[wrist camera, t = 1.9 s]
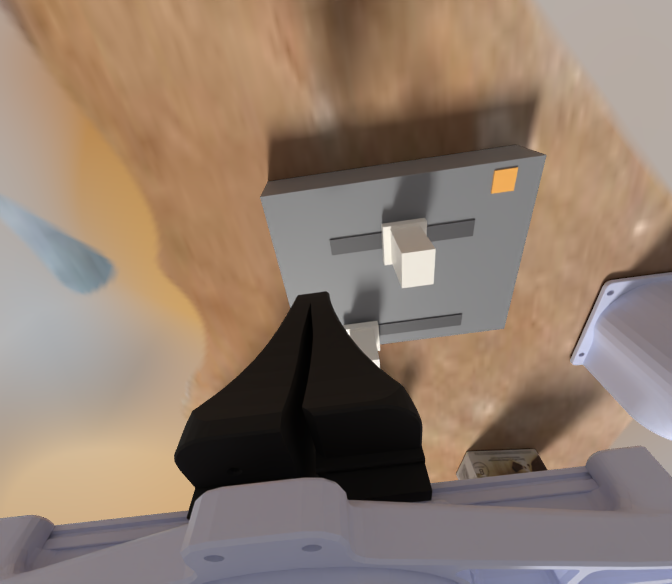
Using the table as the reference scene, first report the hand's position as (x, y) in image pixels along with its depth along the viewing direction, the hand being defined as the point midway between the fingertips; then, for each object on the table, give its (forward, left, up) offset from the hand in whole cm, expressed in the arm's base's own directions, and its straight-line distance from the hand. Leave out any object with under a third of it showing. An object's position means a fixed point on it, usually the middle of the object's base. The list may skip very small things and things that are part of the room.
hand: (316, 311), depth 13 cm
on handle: (-7, -2, -6) cm, 9 cm away
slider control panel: (-3, -5, -9) cm, 11 cm away
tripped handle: (0, -5, -6) cm, 8 cm away
